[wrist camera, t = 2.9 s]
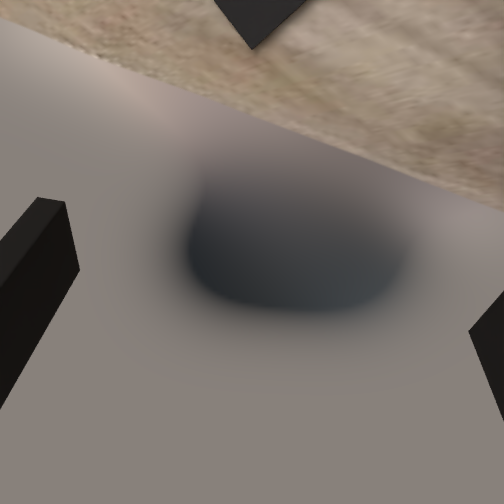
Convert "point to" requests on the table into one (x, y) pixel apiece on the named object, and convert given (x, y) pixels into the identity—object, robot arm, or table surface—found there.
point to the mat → (257, 16)
